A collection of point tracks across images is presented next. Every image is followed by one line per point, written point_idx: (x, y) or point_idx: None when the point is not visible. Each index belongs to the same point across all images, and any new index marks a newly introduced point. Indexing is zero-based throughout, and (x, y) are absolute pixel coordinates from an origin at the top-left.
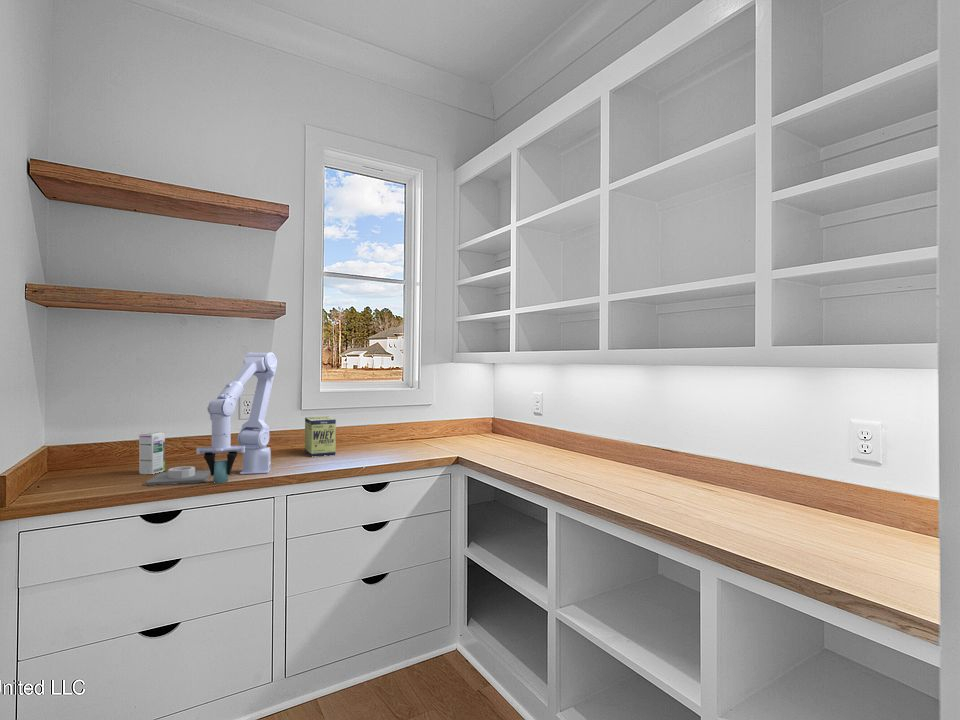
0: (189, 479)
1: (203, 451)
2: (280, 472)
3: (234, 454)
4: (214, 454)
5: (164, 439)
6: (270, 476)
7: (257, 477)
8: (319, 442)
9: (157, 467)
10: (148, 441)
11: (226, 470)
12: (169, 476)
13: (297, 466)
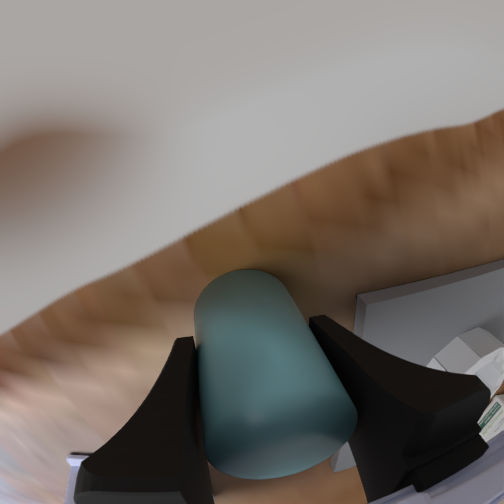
0: (431, 310)
1: (498, 458)
2: (27, 453)
3: (75, 494)
4: (376, 496)
5: None
6: (13, 401)
7: (61, 396)
8: None
9: (494, 420)
10: None
11: (202, 360)
12: (494, 336)
13: (40, 500)
